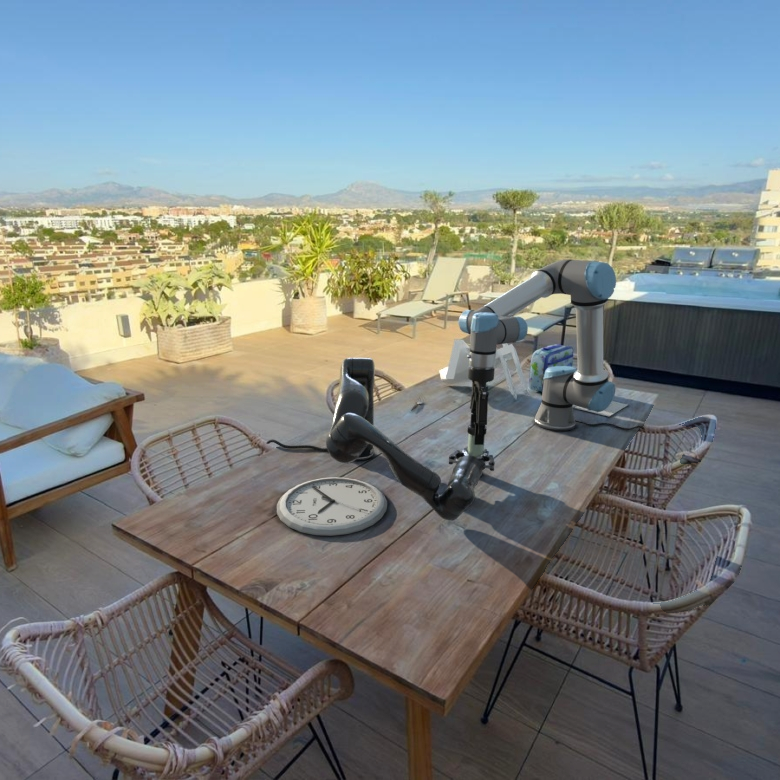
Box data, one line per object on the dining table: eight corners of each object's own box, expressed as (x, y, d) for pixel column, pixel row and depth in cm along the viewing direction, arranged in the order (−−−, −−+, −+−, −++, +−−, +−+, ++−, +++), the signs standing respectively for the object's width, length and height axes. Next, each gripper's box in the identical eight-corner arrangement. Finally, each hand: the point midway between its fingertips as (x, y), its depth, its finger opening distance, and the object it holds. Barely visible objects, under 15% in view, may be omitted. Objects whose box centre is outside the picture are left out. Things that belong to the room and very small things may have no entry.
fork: (408, 411, 216) (408, 407, 215) (419, 400, 230) (419, 396, 229) (414, 412, 215) (414, 407, 214) (425, 401, 229) (425, 396, 229)
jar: (483, 477, 160) (486, 431, 156) (467, 477, 160) (470, 430, 156) (480, 470, 165) (483, 425, 161) (465, 470, 165) (468, 425, 160)
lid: (479, 428, 162) (479, 421, 162) (489, 434, 157) (490, 427, 157) (464, 430, 160) (464, 424, 159) (474, 437, 155) (475, 430, 154)
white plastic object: (461, 429, 252) (437, 405, 227) (444, 352, 274) (420, 323, 250) (535, 404, 240) (518, 377, 215) (510, 326, 262) (492, 293, 237)
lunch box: (545, 397, 238) (550, 352, 231) (524, 391, 245) (529, 348, 239) (572, 386, 255) (578, 344, 249) (552, 381, 262) (557, 340, 256)
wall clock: (392, 527, 129) (268, 531, 127) (391, 533, 130) (269, 537, 127) (383, 473, 158) (282, 475, 155) (383, 478, 158) (282, 480, 156)
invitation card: (608, 416, 214) (573, 407, 224) (608, 416, 214) (573, 408, 224) (628, 404, 229) (594, 396, 238) (628, 405, 229) (594, 397, 238)
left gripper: (441, 481, 151) (453, 458, 166) (491, 489, 147) (499, 465, 162) (442, 457, 149) (455, 436, 164) (493, 465, 144) (501, 442, 160)
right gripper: (463, 357, 162) (459, 426, 169) (474, 375, 143) (469, 452, 149) (487, 358, 162) (482, 426, 169) (501, 376, 143) (495, 452, 150)
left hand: (476, 450), depth 163 cm, fingers closed on jar, 5 cm apart
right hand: (476, 438), depth 159 cm, fingers open, 7 cm apart
